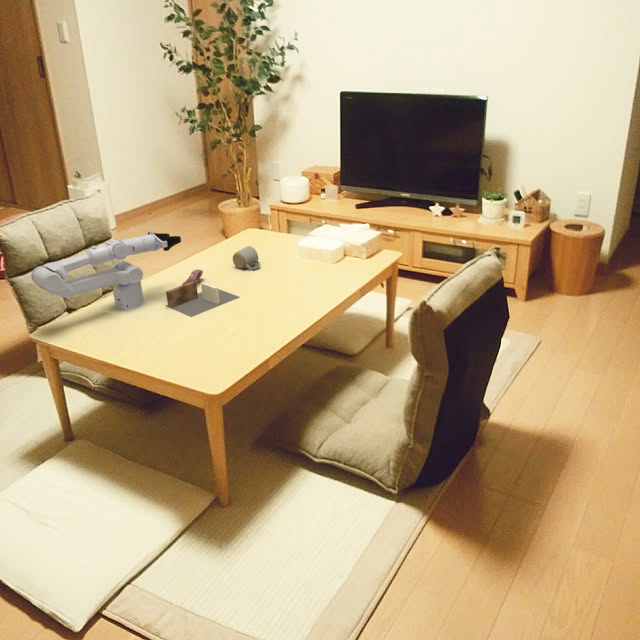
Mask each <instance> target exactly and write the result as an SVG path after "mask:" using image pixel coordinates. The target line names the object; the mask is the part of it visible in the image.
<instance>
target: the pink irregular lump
mask: <svg viewBox="0 0 640 640" xmlns="http://www.w3.org/2000/svg"><path fill="white" fill-rule="evenodd" d="M203 273H204V271H203V270H202V269H198V268H197V269H194V270H192V271H191V273H190V275H189V277H188V278H187V279H186V280H185V281H183V283H181V286H182V285H185V284H187V283H190V282H193V281H194V282H196V284H198V283H199V280H200V279H201V277H202V275H203Z"/></svg>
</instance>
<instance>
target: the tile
mask: <svg viewBox="0 0 640 640" xmlns="http://www.w3.org/2000/svg"><path fill="white" fill-rule="evenodd" d="M200 285H201V286H200V287H201V292H202V296H203V299H204V300H207V301H210V302H212V303H215V304H219V303H220V301H219V291H218V289H219V287H218V286H215V285H212V284H209V283H206V282H201V283H200Z"/></svg>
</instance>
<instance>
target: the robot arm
mask: <svg viewBox="0 0 640 640" xmlns="http://www.w3.org/2000/svg"><path fill="white" fill-rule="evenodd" d="M181 242H182V238H181V236H180V235H173V236H172V235H170V233H158V232H157V233H156V232H154V231H153V230H150V231H148V232H147V234H146V235H141V236H136V237H135V236H134V237H130V238H126V239H122V240H121V239H120V240H119V241H118V240H116V239H108V240H106V242H105V243H104V244H102V245H99V246H96V245H91V247H90V248H88V249H87V250H86V251H85V253H84V254H80V255H77V256H74V257H69V258H65V259H62V260H58V261H53V262H47V263H45V264H43V265H40V266H36V267H35V268H34V269H33V270H32V272H31V276H30V277H31V280H32V282H33V283H34V284H35V285H37V286H38V287H39V288H41V289H43V290H44V291H46V292H47V293H48V294H50V295H54V296H57V297H60V298H64V299H67V298H70V297H73V296H74V297H75V296H77V295H80V294H85V293H87V292H91V291H94V290H98V289H102V288H106V287H108V286H112V285H115V286H114V287H113V289H112V293H113V294H112V295H113V299H114V307H115V308H118V309H119V310H122V311H124V312H129V311H132V310H135V309H138V308H141V307H143V306H146V305H148V304H150V302H148V301H146V300H144V295H143V293H144V292H143V288H142V287H143V286H142V279H143V276H144V272H143V270H142V269H141V267H139V266H137V265H134V264H132V263H130V262H129V261H126V260H125V259H126V258H127V257H129V256H135V255H138V254H144V253H148V252H156V251H158V250H160V249H163V251H165V252H167V251H170V249H171V248H172V247H174V246H177V245H179V244H181ZM114 259H116V260H120V261H118V263H116V264H114V265H112V266H110V267H109V268H108V269H105V270H102V271H98V272H95V273H91V274H87V275H83V276H80V277H77V278H72V279H69V280H66V278H67V274H68V273H69V272H72V271H74V270H76V269H79V268H81V267H84V266H87V265H91V266H93V267H96V266H98V265H100V264H101V265H102V264H104V263H107V262H110V261H113V260H114Z"/></svg>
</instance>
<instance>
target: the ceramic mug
mask: <svg viewBox="0 0 640 640" xmlns="http://www.w3.org/2000/svg"><path fill="white" fill-rule="evenodd" d="M232 262H233V265H234V266H235V267H236V268H237V269H239V270H243V269H248V270H250V271H257V269H258V270H259V269H260V267H261V263H260V261H259V255H258V252H257V251H256V249H255V248H254V247H253V246H251V245H250V246H249V245H248V246H246V247H245V246H244V247H243V248H241V249H239V250H238V251H236V252H235V253H234V254H233V256H232ZM256 264H257V265H258V266H254V265H256Z"/></svg>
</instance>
